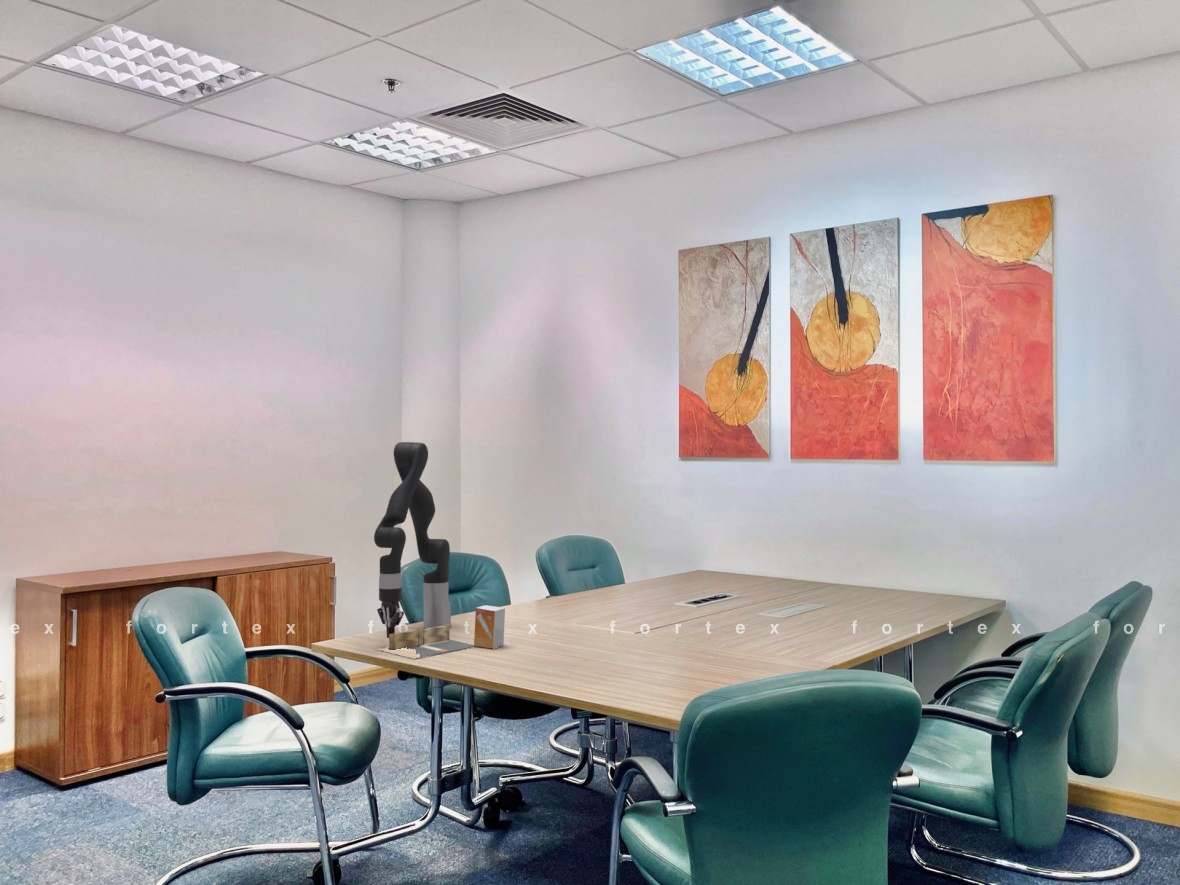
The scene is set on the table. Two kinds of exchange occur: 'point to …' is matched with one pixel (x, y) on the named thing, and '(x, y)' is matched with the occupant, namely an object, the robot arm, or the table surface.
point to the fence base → (433, 635)
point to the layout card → (440, 647)
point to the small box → (489, 626)
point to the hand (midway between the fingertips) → (390, 637)
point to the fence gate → (403, 640)
